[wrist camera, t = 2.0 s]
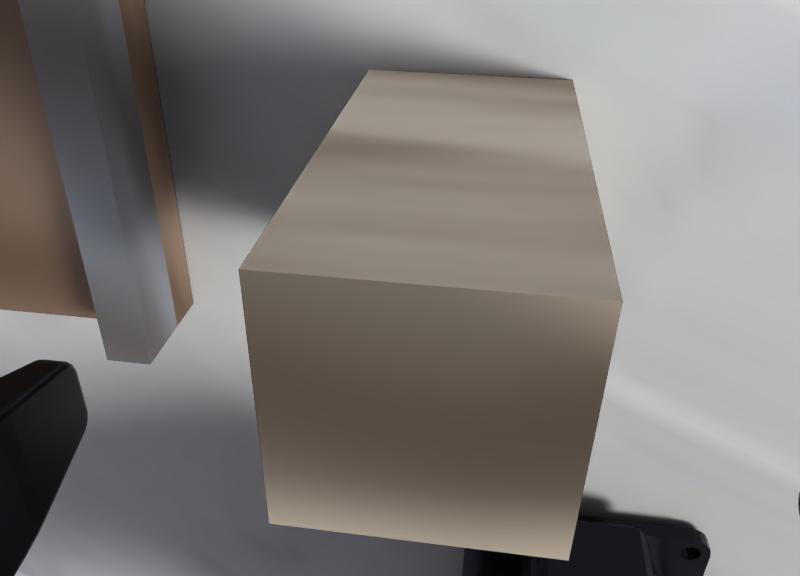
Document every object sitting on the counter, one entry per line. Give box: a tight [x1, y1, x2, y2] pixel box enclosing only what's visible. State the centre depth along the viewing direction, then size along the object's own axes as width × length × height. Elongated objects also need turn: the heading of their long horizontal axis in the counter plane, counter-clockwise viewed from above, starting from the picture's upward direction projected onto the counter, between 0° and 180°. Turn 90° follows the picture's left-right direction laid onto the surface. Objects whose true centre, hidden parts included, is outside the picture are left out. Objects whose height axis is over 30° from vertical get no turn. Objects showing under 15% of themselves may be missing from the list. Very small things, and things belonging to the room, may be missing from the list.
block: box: [239, 69, 623, 561], centre depth 12 cm, size 4×4×8 cm
